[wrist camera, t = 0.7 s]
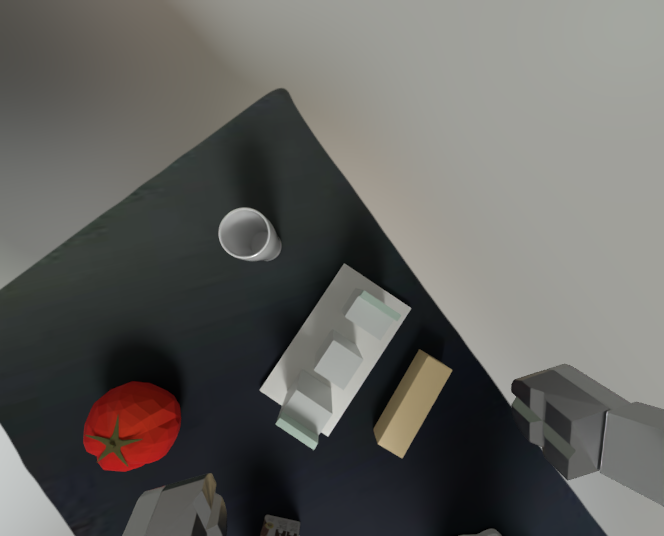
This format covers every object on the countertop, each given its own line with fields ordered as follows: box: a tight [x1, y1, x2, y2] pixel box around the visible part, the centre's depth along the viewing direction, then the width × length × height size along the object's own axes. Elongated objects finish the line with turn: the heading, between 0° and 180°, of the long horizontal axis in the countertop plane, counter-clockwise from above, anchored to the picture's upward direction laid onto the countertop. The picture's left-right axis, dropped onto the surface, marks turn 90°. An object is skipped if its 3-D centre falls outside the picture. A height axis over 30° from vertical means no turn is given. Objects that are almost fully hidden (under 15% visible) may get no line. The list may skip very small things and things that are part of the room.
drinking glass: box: [219, 208, 282, 261], centre depth 46 cm, size 7×7×15 cm
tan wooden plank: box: [373, 349, 452, 458], centre depth 51 cm, size 4×16×5 cm, turn 149°
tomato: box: [83, 381, 181, 471], centre depth 47 cm, size 13×12×11 cm
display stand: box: [260, 263, 411, 450], centre depth 47 cm, size 14×26×13 cm, turn 146°
